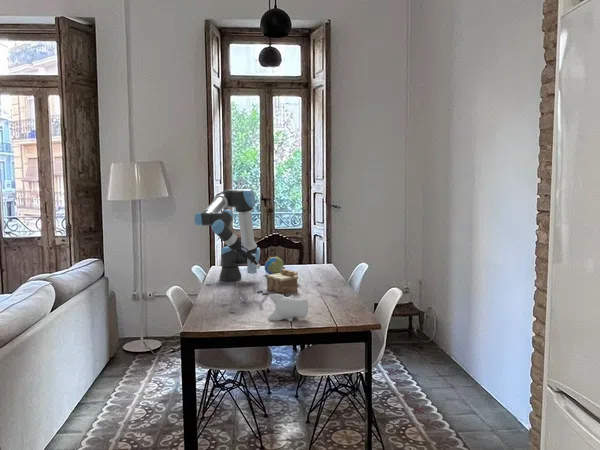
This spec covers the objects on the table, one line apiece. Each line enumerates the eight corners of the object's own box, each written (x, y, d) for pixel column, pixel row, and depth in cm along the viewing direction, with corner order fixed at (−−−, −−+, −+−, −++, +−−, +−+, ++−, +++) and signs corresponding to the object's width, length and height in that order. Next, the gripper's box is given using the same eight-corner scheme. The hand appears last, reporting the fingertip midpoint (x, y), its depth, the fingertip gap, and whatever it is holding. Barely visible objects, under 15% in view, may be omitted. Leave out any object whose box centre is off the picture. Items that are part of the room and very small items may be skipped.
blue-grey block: (247, 272, 319) (247, 254, 318) (253, 272, 322) (253, 253, 321) (250, 273, 316) (250, 255, 315) (256, 273, 318) (256, 254, 318)
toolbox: (267, 289, 336) (267, 276, 335) (283, 287, 342) (283, 274, 342) (280, 294, 323) (280, 280, 322) (297, 291, 329) (297, 278, 329)
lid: (266, 276, 335) (266, 270, 335) (283, 274, 342) (283, 268, 342) (280, 281, 321) (280, 274, 321) (298, 278, 328) (298, 271, 328)
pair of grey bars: (256, 292, 327) (256, 290, 326) (262, 291, 329) (262, 290, 329) (263, 295, 320) (263, 293, 320) (268, 294, 323) (268, 292, 322)
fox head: (308, 299, 278) (269, 296, 278) (309, 294, 262) (268, 291, 262) (306, 325, 274) (267, 322, 274) (307, 321, 258) (266, 319, 258)
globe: (265, 252, 388) (272, 256, 374) (284, 257, 395) (292, 261, 381) (259, 271, 388) (267, 275, 374) (279, 275, 395) (287, 280, 381)
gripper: (221, 244, 315) (246, 269, 326) (235, 247, 302) (261, 273, 313) (229, 235, 318) (253, 260, 329) (243, 237, 304) (268, 263, 315)
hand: (257, 266), depth 321 cm, fingers closed on blue-grey block, 4 cm apart
